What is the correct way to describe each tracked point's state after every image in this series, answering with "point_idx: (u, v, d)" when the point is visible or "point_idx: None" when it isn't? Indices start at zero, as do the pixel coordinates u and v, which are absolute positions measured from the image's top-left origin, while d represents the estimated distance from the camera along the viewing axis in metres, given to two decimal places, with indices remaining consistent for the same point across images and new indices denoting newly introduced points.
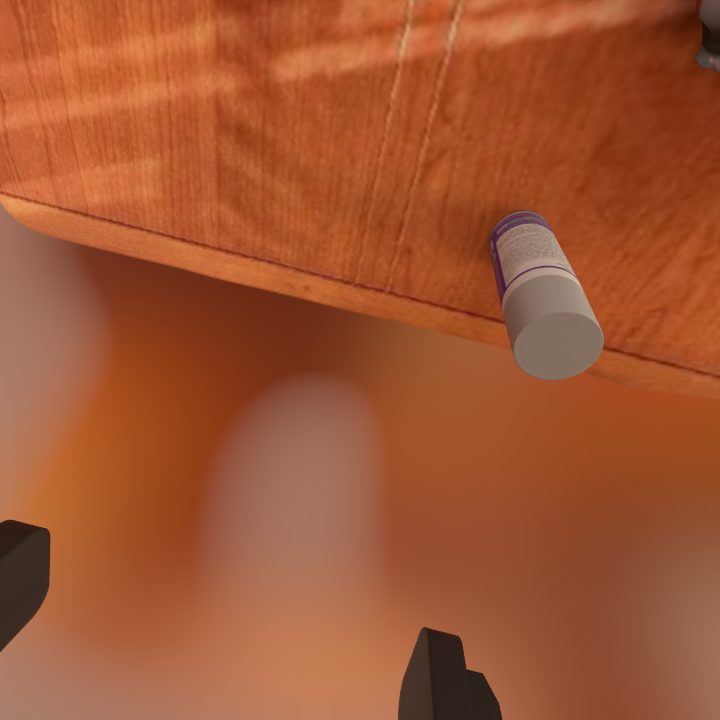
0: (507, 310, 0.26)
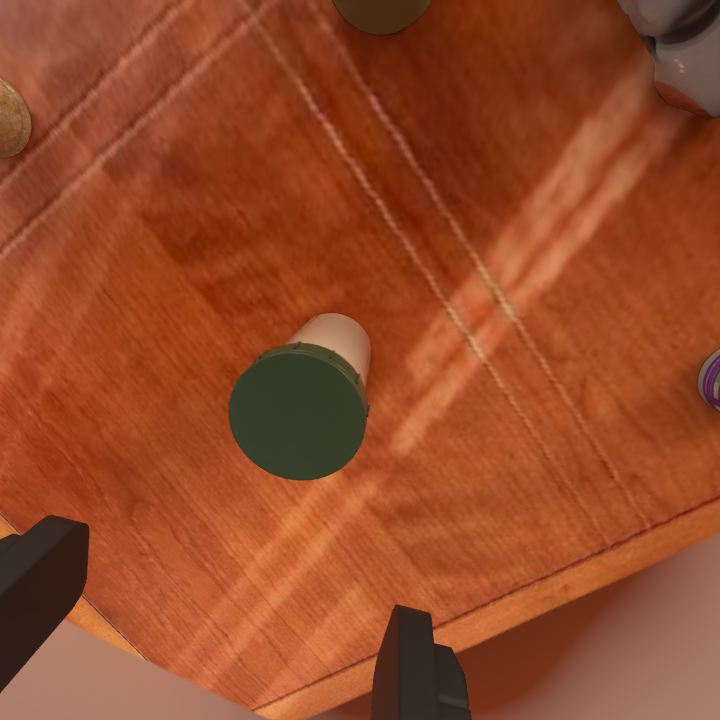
0: None
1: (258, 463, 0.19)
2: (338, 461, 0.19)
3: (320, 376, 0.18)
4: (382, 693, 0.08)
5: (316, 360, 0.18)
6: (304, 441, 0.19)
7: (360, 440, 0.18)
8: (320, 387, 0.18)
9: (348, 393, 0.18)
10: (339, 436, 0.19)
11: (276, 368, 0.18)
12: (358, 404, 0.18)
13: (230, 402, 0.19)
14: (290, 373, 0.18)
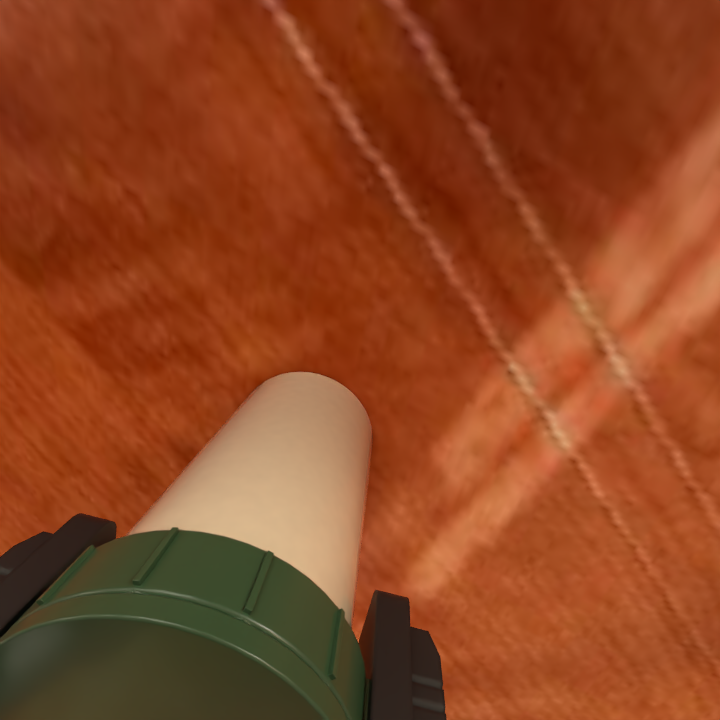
0: None
1: None
2: None
3: (213, 683, 0.06)
4: None
5: (196, 639, 0.05)
6: None
7: None
8: (216, 709, 0.06)
9: None
10: None
11: (74, 656, 0.06)
12: None
13: None
14: (119, 670, 0.06)
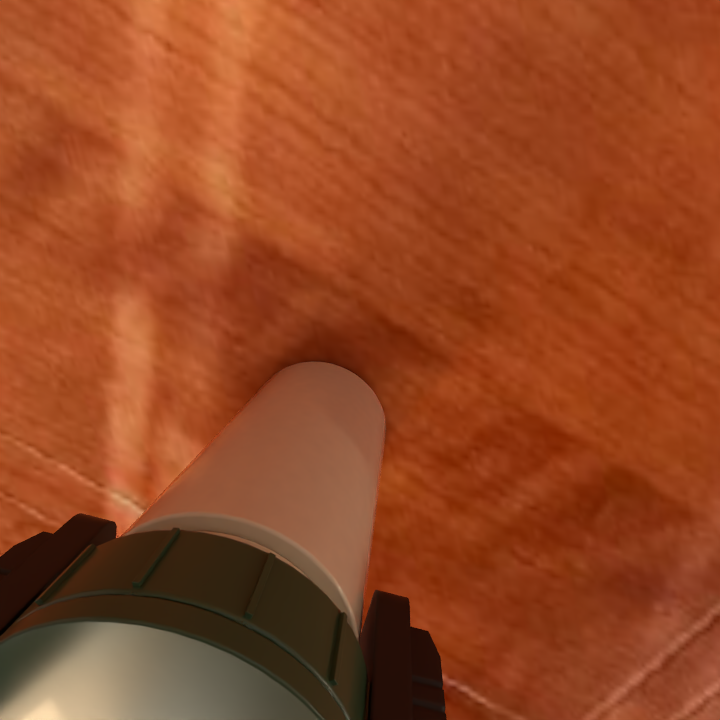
0: None
1: None
2: None
3: (212, 688, 0.06)
4: None
5: (196, 644, 0.05)
6: None
7: None
8: (215, 714, 0.06)
9: None
10: None
11: (72, 657, 0.06)
12: None
13: None
14: (118, 673, 0.06)
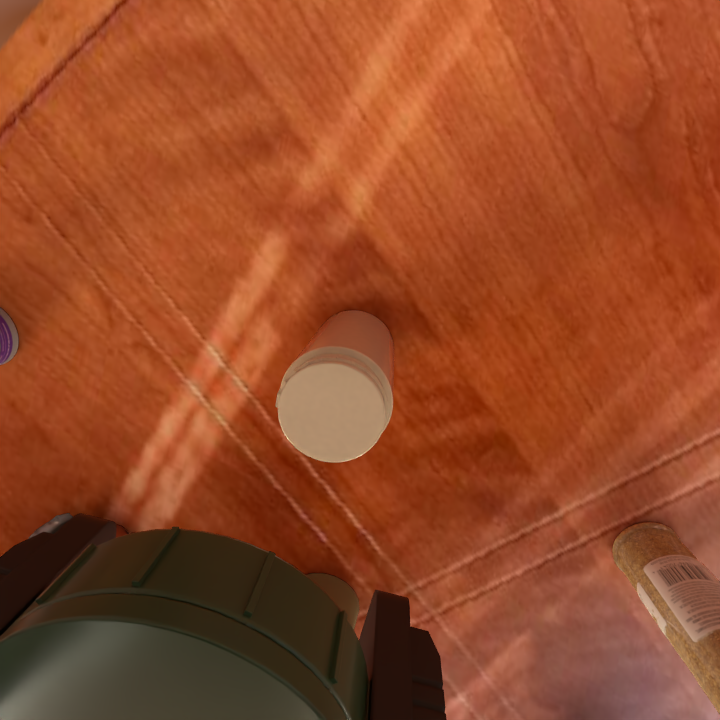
0: None
1: None
2: None
3: (212, 686, 0.06)
4: None
5: (196, 642, 0.05)
6: None
7: None
8: (215, 713, 0.06)
9: None
10: None
11: (72, 657, 0.06)
12: None
13: None
14: (118, 672, 0.06)
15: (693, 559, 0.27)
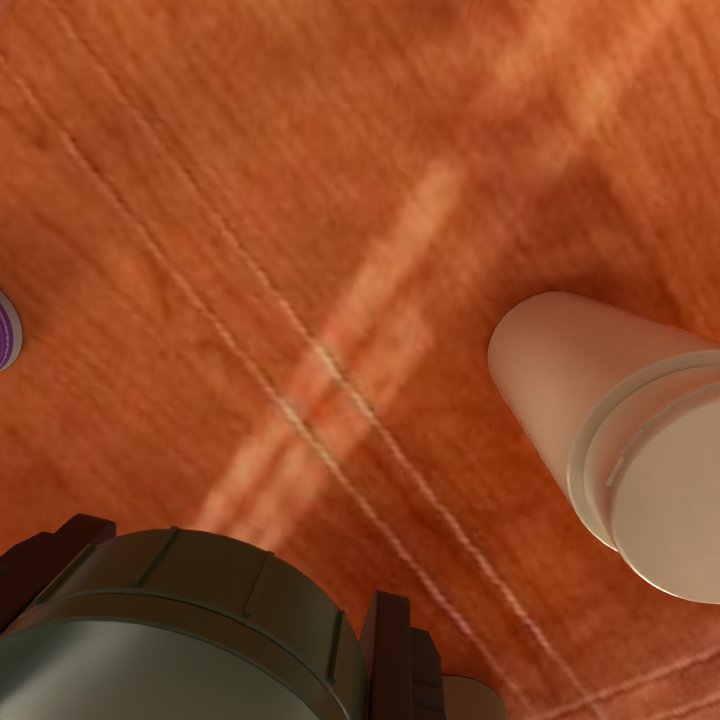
0: None
1: None
2: None
3: (211, 687, 0.05)
4: None
5: (194, 643, 0.05)
6: None
7: None
8: (214, 713, 0.06)
9: None
10: None
11: (71, 658, 0.06)
12: None
13: None
14: (116, 672, 0.06)
15: None
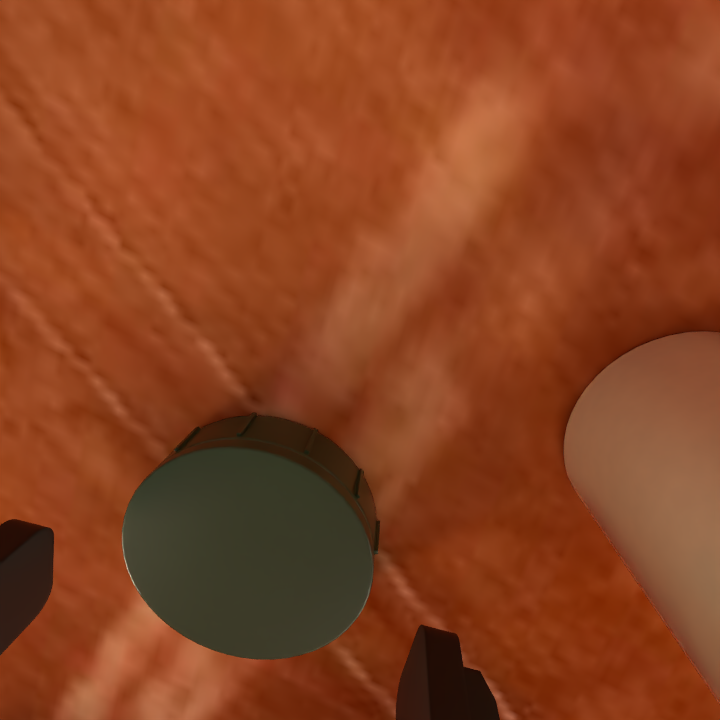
0: None
1: (181, 630, 0.11)
2: (323, 632, 0.10)
3: (287, 490, 0.09)
4: (409, 719, 0.08)
5: (279, 461, 0.09)
6: (260, 598, 0.10)
7: (363, 600, 0.10)
8: (288, 509, 0.10)
9: (341, 521, 0.09)
10: (325, 592, 0.10)
11: (203, 475, 0.09)
12: (360, 540, 0.10)
13: (123, 530, 0.10)
14: (230, 484, 0.09)
15: None
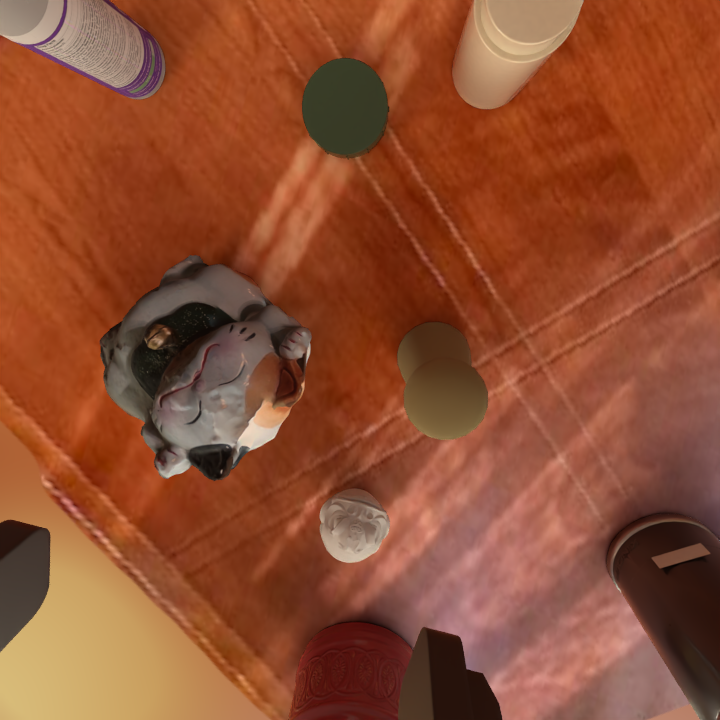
0: None
1: (319, 142, 0.31)
2: (370, 137, 0.30)
3: (360, 74, 0.29)
4: None
5: (357, 63, 0.29)
6: (349, 123, 0.30)
7: (384, 120, 0.30)
8: (360, 82, 0.29)
9: (377, 85, 0.29)
10: (371, 118, 0.30)
11: (333, 70, 0.29)
12: (383, 93, 0.29)
13: (303, 97, 0.30)
14: (341, 73, 0.29)
15: None
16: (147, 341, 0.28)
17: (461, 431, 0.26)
